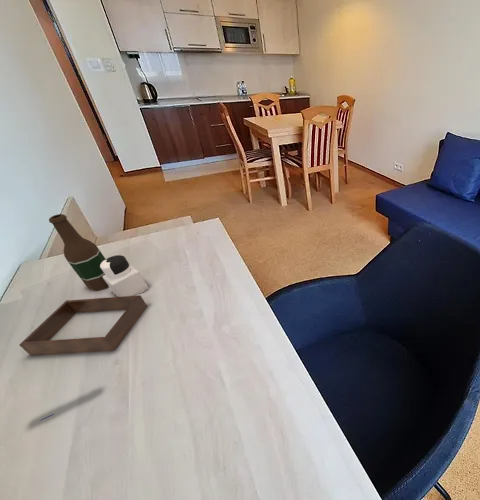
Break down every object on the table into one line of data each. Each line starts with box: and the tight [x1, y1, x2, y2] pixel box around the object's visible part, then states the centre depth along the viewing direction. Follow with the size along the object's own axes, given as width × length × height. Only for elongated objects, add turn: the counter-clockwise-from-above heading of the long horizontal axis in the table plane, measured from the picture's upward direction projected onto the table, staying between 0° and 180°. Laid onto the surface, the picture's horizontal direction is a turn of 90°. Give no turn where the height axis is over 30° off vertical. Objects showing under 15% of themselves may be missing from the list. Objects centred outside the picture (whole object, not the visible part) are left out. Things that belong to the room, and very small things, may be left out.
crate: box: [19, 294, 148, 357], centre depth 77 cm, size 21×15×5 cm
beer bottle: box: [48, 213, 110, 292], centre depth 88 cm, size 8×8×24 cm
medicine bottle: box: [100, 254, 150, 297], centre depth 87 cm, size 7×7×12 cm
